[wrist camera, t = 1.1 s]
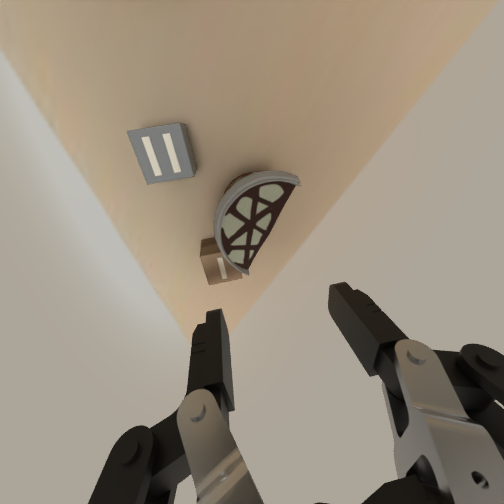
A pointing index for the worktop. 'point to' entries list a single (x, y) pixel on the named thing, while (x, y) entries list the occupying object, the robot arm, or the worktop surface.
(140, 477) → the robot arm
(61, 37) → the worktop surface
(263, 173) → the food container
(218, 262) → the walnut block
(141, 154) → the slate block
